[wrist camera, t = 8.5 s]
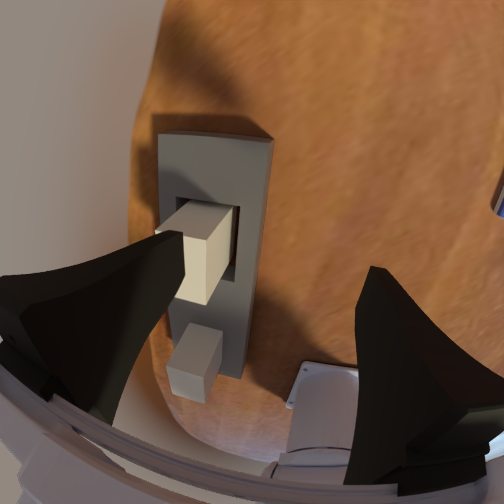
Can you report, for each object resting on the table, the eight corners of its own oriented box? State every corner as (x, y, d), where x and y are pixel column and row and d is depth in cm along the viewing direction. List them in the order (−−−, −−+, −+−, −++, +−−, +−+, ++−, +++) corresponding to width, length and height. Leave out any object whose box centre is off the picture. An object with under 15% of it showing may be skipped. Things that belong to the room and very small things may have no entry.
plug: (233, 254, 22) (206, 305, 17) (196, 247, 22) (161, 293, 17) (237, 200, 19) (206, 240, 14) (197, 194, 20) (155, 230, 15)
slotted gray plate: (245, 364, 28) (227, 420, 22) (183, 347, 29) (156, 398, 23) (274, 139, 17) (248, 160, 11) (172, 130, 18) (107, 150, 12)
